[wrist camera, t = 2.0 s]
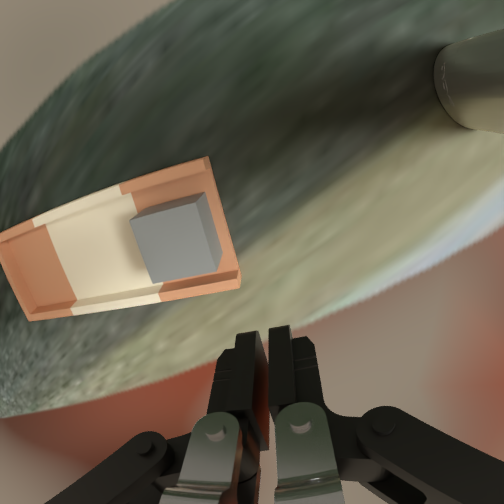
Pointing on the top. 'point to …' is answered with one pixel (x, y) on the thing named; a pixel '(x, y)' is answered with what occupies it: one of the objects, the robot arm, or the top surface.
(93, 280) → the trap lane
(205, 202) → the slate block
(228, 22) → the top surface
